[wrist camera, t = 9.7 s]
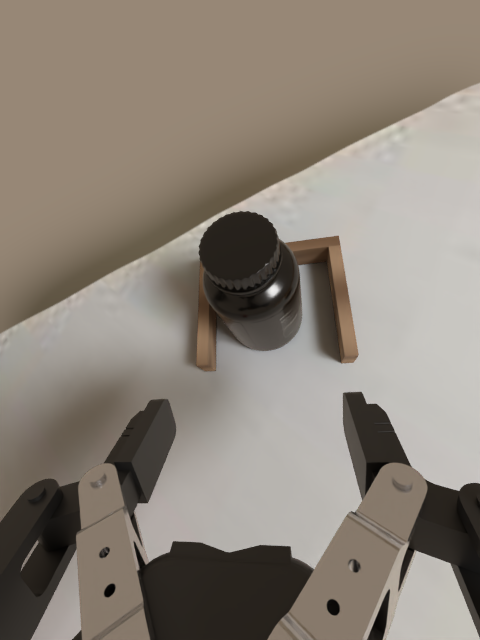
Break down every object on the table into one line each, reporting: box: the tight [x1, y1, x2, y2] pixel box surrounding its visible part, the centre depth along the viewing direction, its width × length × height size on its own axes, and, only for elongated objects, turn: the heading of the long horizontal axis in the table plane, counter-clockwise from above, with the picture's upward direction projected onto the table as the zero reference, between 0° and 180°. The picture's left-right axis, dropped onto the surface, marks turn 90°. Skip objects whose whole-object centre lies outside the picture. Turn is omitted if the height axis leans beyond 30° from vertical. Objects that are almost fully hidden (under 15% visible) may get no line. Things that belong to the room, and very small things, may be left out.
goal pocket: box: [196, 236, 358, 371], centre depth 27 cm, size 11×13×2 cm
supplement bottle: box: [199, 211, 302, 351], centre depth 23 cm, size 7×7×12 cm
